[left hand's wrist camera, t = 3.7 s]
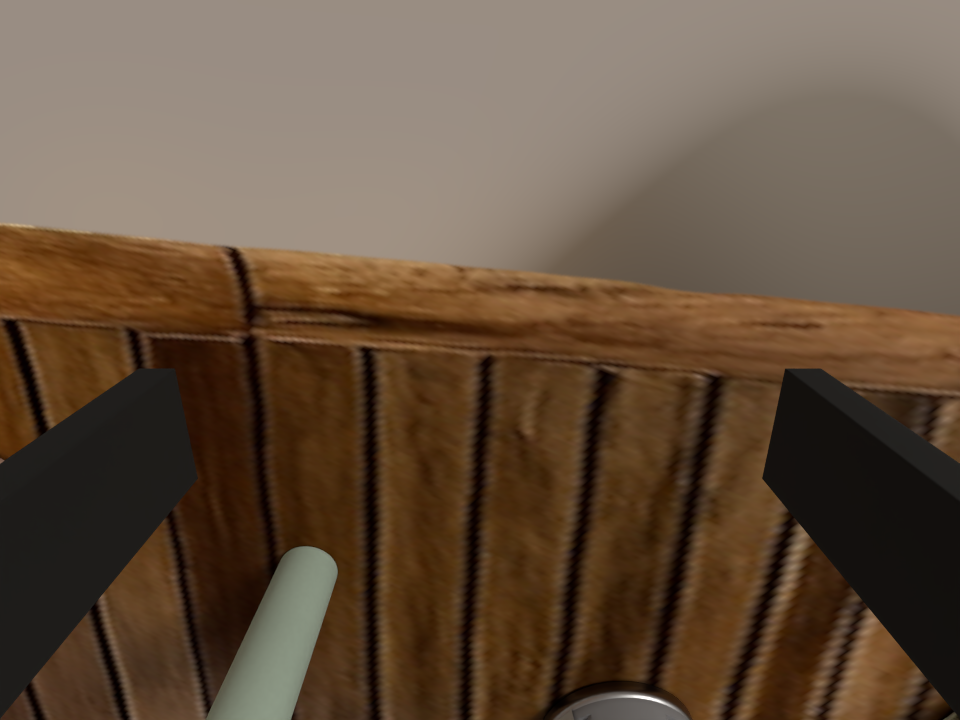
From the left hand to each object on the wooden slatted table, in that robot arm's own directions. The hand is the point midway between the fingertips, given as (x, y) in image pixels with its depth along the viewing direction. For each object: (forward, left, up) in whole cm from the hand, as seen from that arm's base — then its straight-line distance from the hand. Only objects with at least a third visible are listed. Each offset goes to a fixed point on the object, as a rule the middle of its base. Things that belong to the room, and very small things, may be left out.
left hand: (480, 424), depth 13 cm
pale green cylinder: (-29, +15, -28) cm, 43 cm away
